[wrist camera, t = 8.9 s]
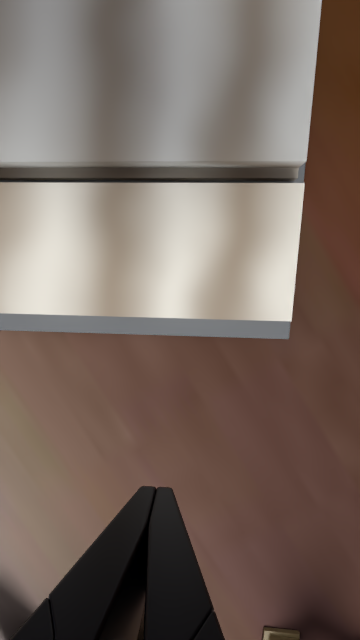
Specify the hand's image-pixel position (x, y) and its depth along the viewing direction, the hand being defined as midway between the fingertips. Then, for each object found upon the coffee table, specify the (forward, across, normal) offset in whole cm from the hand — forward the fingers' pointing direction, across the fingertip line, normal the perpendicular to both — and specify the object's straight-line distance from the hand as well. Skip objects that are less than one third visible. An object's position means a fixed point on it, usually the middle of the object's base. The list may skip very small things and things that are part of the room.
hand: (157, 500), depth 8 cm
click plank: (+11, +3, -6) cm, 13 cm away
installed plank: (+12, +3, -14) cm, 19 cm away
